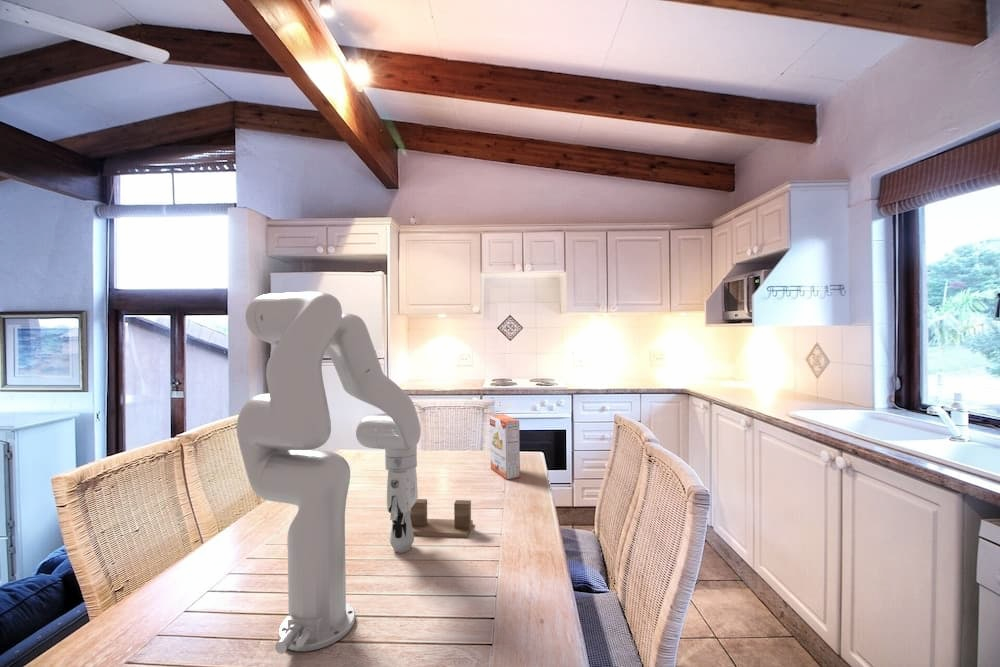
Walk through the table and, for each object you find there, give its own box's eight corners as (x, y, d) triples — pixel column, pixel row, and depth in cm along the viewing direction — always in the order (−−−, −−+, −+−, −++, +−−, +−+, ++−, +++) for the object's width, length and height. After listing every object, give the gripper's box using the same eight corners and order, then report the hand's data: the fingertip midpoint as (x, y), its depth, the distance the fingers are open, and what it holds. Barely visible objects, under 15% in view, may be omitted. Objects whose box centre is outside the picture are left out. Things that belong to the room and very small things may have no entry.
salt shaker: (408, 555, 104) (407, 501, 104) (385, 553, 105) (385, 499, 105) (417, 544, 110) (417, 492, 109) (396, 542, 111) (395, 490, 111)
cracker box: (489, 469, 168) (489, 414, 168) (503, 467, 171) (503, 413, 171) (505, 480, 155) (504, 421, 155) (520, 478, 158) (520, 419, 158)
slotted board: (467, 537, 113) (467, 508, 113) (406, 535, 114) (406, 506, 114) (472, 523, 121) (472, 496, 121) (415, 521, 122) (415, 494, 122)
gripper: (405, 472, 99) (406, 553, 99) (425, 451, 115) (426, 521, 115) (373, 471, 99) (374, 552, 100) (397, 451, 116) (398, 521, 116)
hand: (402, 535), depth 107 cm, fingers closed on salt shaker, 3 cm apart
